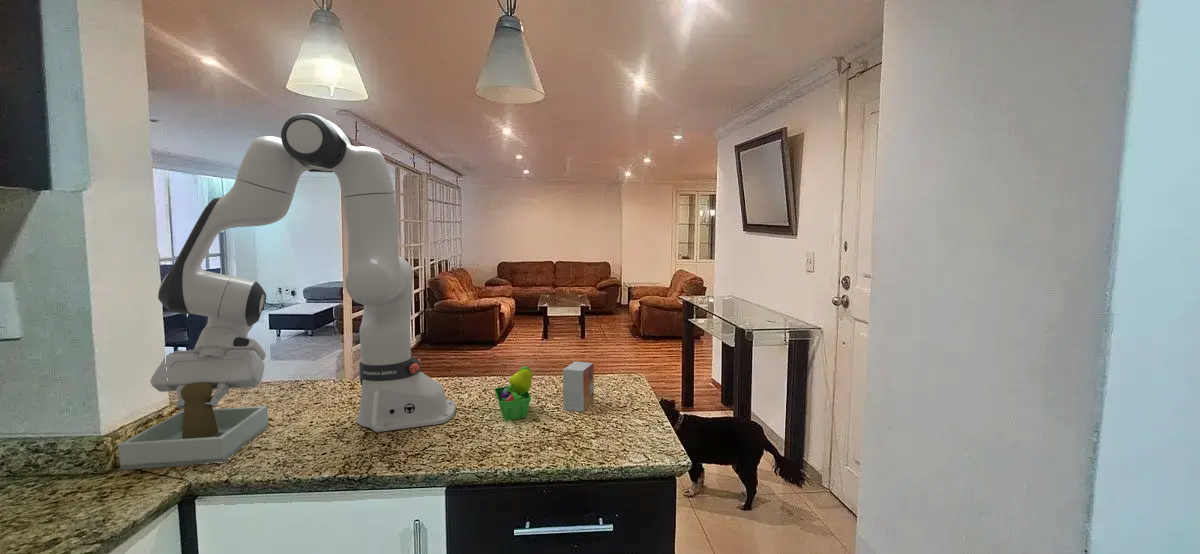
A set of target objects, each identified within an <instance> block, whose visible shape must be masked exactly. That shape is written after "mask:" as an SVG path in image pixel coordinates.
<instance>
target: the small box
mask: <svg viewBox="0 0 1200 554" xmlns="http://www.w3.org/2000/svg"><path fill="white" fill-rule="evenodd" d="M594 371H595V370H594V363H593V362H586V361H573V362H572V363H571V364H569V365H567V366H566V367H564V368H563V369H562V405H563V406H562V407H563V409H562V410H564V411H572V412H573V411H574V412H581V413H582V412H585V411H586V410H587V409H588V408H589V407H590V406H591V405H592V404H593V403H594V402H595V400H594V398H595V396H594V387H595V385H594V382H595V381H594V380H595V379H594V378H595V377H594V375H595V374H594V373H595V372H594Z"/></svg>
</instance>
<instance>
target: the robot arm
mask: <svg viewBox="0 0 1200 554" xmlns="http://www.w3.org/2000/svg"><path fill="white" fill-rule="evenodd" d="M351 139H352V138H350V136H349V135H348V133H346V132H345V131H344V130H342V129H341V128H340V127H339V126H338V125H337V124H335V123H334V122H332V121H330V120H328V119H326V118H324V117H322V116H320V115H318V114H315V113H298V114H296V115H293V116H291V117H290V118H289V119H287V120H286V121H285V123H283V126H282V128H281V132H280V137H277V136H273V135H272V136H271V135H264V136H259V137H256V138H255V139H254V140H253V141H252V142H251V143H250V145H249V147H248V149H247V150H246V153H245V154H244V156H243V158H242V161H241V163H240V166H239V169H238V171H237V174H236V178H235V181H234V184H233V186H232V187H231V188H230V190H228V192H227V193H226V194H224V196H222V197H215V198H213V199H212V200H210V201H209V202H208V203H207V205H206V206H205V208H204V209H203V211H202V212H201V214H200V216H199V217H198V219H197V221H196V223H195V224H194V226H193V228H192V229H191V232H190V233H189V236H188V237H187V240H186V241H185V243H184V245H183V247H182V249H181V251H180V252H179V254H178V256H177V258H176V259H175V262H174V263H173V265H172V267H171V268H170V270H169V271H168V273H167V274H166V275H165V277H164V278H163V279H162V280H161V283H160V285H159V288H158V295H157V299H158V300H159V303H161V304H162V305H163V306H164V307H165V309H166V310H168V311H169V312H170V313H174V314H175V313H177V314H186V315H192V314H193V315H197V316H203V317H207V323H206V325H205V327H204V328H203V329H202V330H201V332H200V334H199V336H198V338H197V341H196V344H195V346H194V348H193V349H187V350H180V349H179V350H174V351H173V352H171V353H169V354H166V355H165V356H166V364H165V356H164V357H163V359H162V361H161V362H160V364H159V366H157V368H156V370H155V371H154V373H153V374H152V376H151V378H150V385H151V386H152V387H153V388H154V389H155V390H157V391H158V392H161V393H163V392H176V395H177V397H178V399H177V401H176V408H178V409H180V410H182V409H184V407H185V401H184V400H183V399H182V397H181V390H182V388H183V387H184V386H186V385H188V384H192V383H196V382H207V383H209V384H210V385H211V386H212V390H216V391H215V392H214V393H213V394H212V395H211V396H209V397H208V398H207V401H206V402H205V405H206V406H208V407H212V408H217V406H218V404H219V401H220V400H222V399H223V397H225V396H226V395H227V394H228V393H229V391H230V389H244V388H246V389H247V388H256V387H257V386H259V384H261V382H262V379H263V377H264V372H265V362H264V360H265V358H266V356H267V354H266V351H265V350H264V348H263V347H262V346H261V345H260V344H259V343H258V341H257V340H256V339H253V338H249V337H248V335H249V332H250V331H251V330H252V328H253V326H254V325H255V324H257V322H259V321H260V319H261V318H260V317H261V315H262V313H263V310H264V307H265V304H266V300H267V293H266V292H265V290H264V288H263V287H262V286H261V284H260V283H259V282H258V281H255V280H252V279H249V278H244V277H238V276H235V275H232V276H231V275H228V274H222V273H218V272H214V271H209V270H205V269H203V268H202V263H203V262H204V260H205V258H206V256H207V254H208V252H209V250H210V248H211V247H212V244H213V243H214V241H215V239H216V237H217V236H218V234H220V233H221V232H223V231H226V230H228V229H234V228H246V227H247V228H248V227H260V226H261V227H262V226H267V225H272V224H275V223H277V222H278V221H281V220H282V219H283V218H285V216H286V215H287V213H288V211H289V210H290V207H291V205H292V202H293V199H294V196H295V192H296V188H297V184H298V181H299V179H300V177H301V176H302V174H303V173H305V172H306V171H308V172H309V173H310V172H311V173H334V175H335V176H336V177H337V179H338V182H339V185H340V191H341V198H342V204H343V209H344V217H345V222H346V229H347V242H348V243H347V273H346V277H345V289H346V293H347V295H349V297H350V298H351V300H353V301H354V302H356V303H357V304H360V305H363V312H362V317H361V324H360V325H359V346H360V348H359V349H360V361H359V363H358V364H359V366H358V375H359V377H358V378H359V383H360V386H361V393H360V403H359V408H358V409H359V411H358V413H357V418H356V423H357V424H358V425H360V426H361V427H366V428H369V429H371V430H372V431H374V432H377V433H381V432H387V431H395V430H403V429H410V428H411V429H412V428H419V427H425V426H426V427H427V426H433V425H435V426H436V425H440V424H445V423H447V422H448V421H449V420H450V421H451V419H452V418H453V417H454V415H455V414H456V410H457V409H456V403H455V402H454V401H452V400H450V399H447V397H446V396H447V395H446V393H445V390H444V387H443V385H442V384H441V383H440V382H438V381H436V380H435V379H433V378H432V377H430V376H428V375H426V374H425V373H423V372H422V371H421V358H420V357H419V358H418V359H417V357H416V358H415V357H414V356H413V355H412V349H411V347H412V346H411V316H412V315H411V314H412V304H413V301H412V300H413V283H414V281H413V280H414V271H413V268H412V265H411V264H410V263H409V261H407V260H406V259H405V258H404V257H402V256H400V255H399V235H400V234H399V233H400V222H399V221H400V220H399V216H398V209H397V208H398V207H397V202H396V197H395V191H394V185H393V182H392V178H391V173H390V171H389V167H388V164H387V161H386V158H385V157H384V155H383V154H382V153H381V152H380V151H379V150H377V149H375V148H373V147H369V146H354V144H353V141H352V140H351ZM166 367H167V371H166ZM167 378H168V381H167Z"/></svg>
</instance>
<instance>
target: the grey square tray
mask: <svg viewBox="0 0 1200 554" xmlns="http://www.w3.org/2000/svg"><path fill="white" fill-rule="evenodd" d="M179 411H180V412H179ZM179 411H177V412H178V413H177V412H176V413H177V414H175V413H174V414H175V415H173V414H172V415H173V416H172V417H170V416H168V417H169V418H168V417H167V418H168V419H166V418H165V419H166V420H164V419H163V420H164V421H162V420H161V421H162V422H160V421H159V422H160V423H159V422H157V423H158V424H157V423H155V424H153V425H151V426H150V427H147V428H145V429H144V430H142V431H140V432H139V433H137V434H135V435H133V436H132V437H129V438H128V439H127V440H124V441H123V442H121V443H120V442H119V444H117V449H118V457H119V459H118V460H119V468H120V471H125V470H139V469H141V470H142V469H143V470H144V469H157V468H168V467H169V468H170V467H171V466H173V467H185V465H188V466H196V465H195V464H203V465H206V464H205V463H215V462H225V461H226V460H227V459H228V458H230V457H231V456H232V455H233V454H235V453H236V452H237V451H238V450H240V449H241V448H242V447H243V446H245V445H246V444H247V443H248V442H249V441H251V440H252V439H253V438H255V437H256V436H257V435H258V434H259V433H261V432H262V431H263V430H265V429H266V428H267V427H268V426H269V427H270V425H269V423H270V422H269V411H268V405H261V406H246V407H245V406H244V407H241V406H240V407H226V408H224V407H223V408H213V412H214V416H215V420H216V424H217V427H218V433H217V434H215V435H213V436H210V437H207V438H191V439H182V432H183V420H184V410H179ZM269 427H268V428H269ZM268 428H267V429H268ZM267 429H266V430H267ZM266 430H265V431H266ZM263 432H264V431H263ZM263 432H262V433H263ZM262 433H261V434H262ZM258 436H259V435H258ZM258 436H257V437H258ZM257 437H256V438H257ZM256 438H255V439H256ZM253 440H254V439H253ZM253 440H252V441H253ZM252 441H251V442H252ZM248 444H249V443H248ZM248 444H247V445H248ZM247 445H246V446H247ZM246 446H245V447H246ZM243 448H244V447H243ZM243 448H242V449H243ZM242 449H241V450H242ZM241 450H240V451H241ZM237 453H238V452H237ZM237 453H236V454H237ZM236 454H235V455H236ZM232 457H233V456H232ZM232 457H231V458H232ZM231 458H230V459H231ZM227 461H228V460H227ZM227 461H226V462H227ZM226 462H225V463H226ZM183 465H184V466H183Z"/></svg>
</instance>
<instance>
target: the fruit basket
mask: <svg viewBox="0 0 1200 554" xmlns="http://www.w3.org/2000/svg"><path fill="white" fill-rule="evenodd" d="M532 379H533V372H532V371H531V368H529V367H528V366H522V367H521V368H519V370H518V371H517V372H516V373H514V374H512V375H510V378H509V380H508V383H509V385H506V386H499V387H495V388H494V393H495V395H496V398H497V402H498V406H499V409H500V411H501V413H502V417H503V419H504V421H509V420H519V419H526V418H527V415H528V410H529V407H530V403H531V400H532V396H531V395H530V393H529V391H530V389H531V388H532Z"/></svg>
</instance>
